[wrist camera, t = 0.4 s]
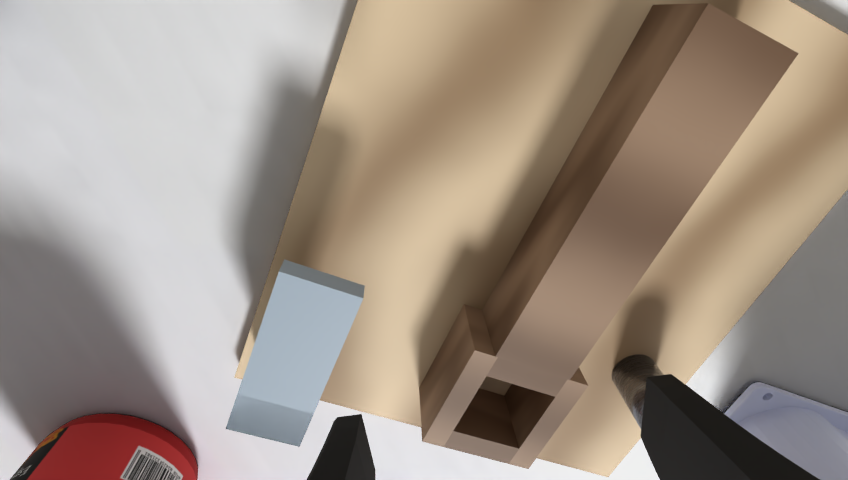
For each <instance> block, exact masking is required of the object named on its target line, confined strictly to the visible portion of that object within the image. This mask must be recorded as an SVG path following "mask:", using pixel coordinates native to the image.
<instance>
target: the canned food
mask: <svg viewBox="0 0 848 480" xmlns="http://www.w3.org/2000/svg"><path fill="white" fill-rule="evenodd" d="M197 478H198V467H197V463H196V459H195V457H194V455H193V454H192V452H191V450H190V449H189V448H188V447H187V446H186V444H185V443H184V442H183V441H182V440H181V439H179V438H178V437H177V436H175V435H174V434H173V433H172V432H170V431H168V430H167V429H165V428H163V427H161V426H160V425H157V424H155V423H152V422H150V421H147V420H144V419H141V418H137V417H133V416H127V415H120V414H95V415H88V416H83V417H80V418H77V419H74V420H72V421H70V422H68V423H66V424H65V425H63V426H61V427H60V428H58V429H57V430H55V431H54V432H53V433H51V434H50V435H48V436H47V437H46V438H45V439H44V440H43V441H42V442H41V443H40V444H39V445H38V446H37V448H36V449H35V450H34V451H33V452H32V454H31V455H30V456H29V457H28V458H27V460H26V461H25V462H24V463H23V464H22V466H21V467H20V468H19V469H18V470H17V472H16V473H15V474H14V475H13V476H12V478H11V479H10V480H197Z"/></svg>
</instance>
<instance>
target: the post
mask: <svg viewBox="0 0 848 480" xmlns="http://www.w3.org/2000/svg"><path fill="white" fill-rule="evenodd" d="M659 375H664V374H663V373H662V371H661V370H660V369H659V367H658V366H657V365H656V363H655V362H654V361H653V359H652V358H650V357H649V356H646V355H641V354H637V355H631V356H628V357H626V358H624V359H622V360H621V361H620V362H618V363H617V364H616V366H615V367H614V369H613V371H612V381H613V382H614V384H615V386H616V388H617V389H618V391H619V393H620V394H621V396H622V398H623V400H624V401H625V403H626V405H627V406H628V408H629V410H630V411H631V413H632V415H633V417H634V418H635V420H636V422H637V423H638V425H639V427H640V429H641V426H642V417H643V407H644V398H645V388H646V378H647V377H651V376H659Z"/></svg>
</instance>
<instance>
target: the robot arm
mask: <svg viewBox="0 0 848 480" xmlns="http://www.w3.org/2000/svg"><path fill="white" fill-rule="evenodd" d="M641 438H642V441H643V443H644V445H645V448H646V450H647V452H648V455H649V457H650V459H651V461H652V463H653V466H654V468H655V470H656V472H657V474H658V477H659V478H660V480H848V412H845V411H842V410H839V409H837V408H834V407H831V406H828V405H825V404H822V403H819V402H816V401H813V400H811V399H808V398H805V397H802V396H799V395H796V394H793V393H790V392H788V391H785V390H782V389H779V388H776V387H773V386H770V385H767V384H765V383H761V382H756V383H753V384H751V385H750V386H749V387H748V388H747V389H746V390H745V391H744V392H743V393H742V394H741V395H740V397H739V398H738V399H737V400H736V401H735V402H734V403H733V404H732V405H731V406H730V408H729V409H728V410H727V411H726V412H725V413H722V412H721V411H720V410H718V409H717V408H716V407H714V406H713V405H712V404H710V403H709V402H708V401H706V400H705V399H704V398H702V397H701V396H700V395H698V394H697V393H696V392H694V391H693V390H692V389H690V388H689V387H688V386H687V385H685V384H684V383H683V382H681V381H680V380H679V379H677V378H676V377H675V376H673V375H672V374H667V375H659V376H651V377H647V378H646V388H645V398H644V407H643V417H642V426H641ZM307 480H375V467H374V463H373V459H372V455H371V451H370V447H369V443H368V439H367V435H366V431H365V427H364V423H363V419H362V415H361V414H359V415H352V416H344V417H337V419H336V420H335V421H334V422H333V425H332V427H331V430H330V432H329V434H328V437H327V439H326V441H325V443H324V446H323V448H322V450H321V452H320V454H319V456H318V458H317V460H316V463H315V465H314V467H313V469H312V471H311V473H310V474H309V476H308V478H307Z"/></svg>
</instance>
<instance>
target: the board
mask: <svg viewBox="0 0 848 480" xmlns="http://www.w3.org/2000/svg"><path fill="white" fill-rule="evenodd" d="M700 3H709V4H711V5H712V6H714V7H716V8H718V9H720V10H721V11H723V12H725V13H727V14H729V15H730V16H732V17H734V18H736V19H738V20H739V21H741V22H743V23H745V24H747V25H748V26H750V27H752V28H754V29H756V30H758V31H759V32H761V33H763V34H765V35H767V36H768V37H770V38H772V39H774V40H776V41H777V42H779V43H781V44H783V45H785V46H786V47H788V48H790V49H792V50H794V51H795V52H797V53H799V54H798V55H797V57H796V58H795V59H794V61H793V62H792V64H791V65H790V67H789V68H788V69H787V71H786V72H785V74H784V75H783V77H782V78H781V79H780V81H779V82H778V84H777V85H776V87H775V88H774V89H773V91H772V92H771V94H770V95H769V97H768V98H767V99H766V101H765V102H764V104H763V105H762V107H761V108H760V109H759V111H758V112H757V114H756V115H755V117H754V118H753V119H752V121H751V122H750V124H749V125H748V126H747V128H746V129H745V131H744V132H743V134H742V135H741V136H740V138H739V139H738V141H737V142H736V144H735V145H734V146H733V148H732V149H731V151H730V152H729V154H728V155H727V156H726V158H725V159H724V161H723V162H722V164H721V165H720V166H719V168H718V169H717V171H716V172H715V174H714V175H713V176H712V178H711V179H710V181H709V182H708V184H707V185H706V186H705V188H704V189H703V191H702V192H701V194H700V195H699V196H698V198H697V199H696V201H695V202H694V204H693V205H692V206H691V208H690V209H689V211H688V212H687V214H686V215H685V216H684V218H683V219H682V221H681V222H680V224H679V225H678V226H677V228H676V229H675V231H674V232H673V234H672V235H671V236H670V238H669V239H668V241H667V242H666V244H665V245H664V246H663V248H662V249H661V251H660V252H659V253H658V255H657V256H656V258H655V259H654V261H653V262H652V263H651V265H650V266H649V268H648V269H647V271H646V272H645V273H644V275H643V276H642V278H641V279H640V281H639V282H638V283H637V285H636V286H635V288H634V289H633V291H632V292H631V293H630V295H629V296H628V298H627V299H626V301H625V302H624V303H623V305H622V306H621V308H620V309H619V311H618V312H617V313H616V315H615V316H614V318H613V319H612V321H611V322H610V323H609V325H608V326H607V328H606V329H605V331H604V332H603V333H602V335H601V336H600V338H599V339H598V341H597V342H596V343H595V345H594V346H593V348H592V349H591V351H590V352H589V353H588V355H587V356H586V358H585V359H584V361H583V362H582V363H581V365H580V366H579V368H580V370H581V372H582V374H583V376H584V378H585V380H586V382H587V384H588V387H587V389H586V390H585V392H584V393H583V394H582V396H581V397H580V398H579V400H578V401H577V403H576V404H575V405H574V407H573V408H572V409H571V411H570V412H569V414H568V415H567V416H566V418H565V419H564V420H563V422H562V423H561V425H560V426H559V427H558V429H557V430H556V431H555V433H554V434H553V436H552V437H551V438H550V440H549V441H548V442H547V444H546V445H545V447H544V448H543V449H542V451H541V452H540V453H539V455H538V456H537V458H538V459H542V460H546V461H550V462H553V463H557V464H561V465H565V466H568V467H572V468H576V469H580V470H583V471H587V472H591V473H595V474H598V475H602V476H606V477H609V475H610V474H611V473H612V472H613V471H614V469H615V468H616V467H617V466H618V465H619V463H620V462H621V461H622V460H623V459H624V457H625V456H626V455H627V454H628V453H629V451H630V450H631V449H632V448H633V447H634V445H635V444H636V443H637V442H638V441H639V439H640V438H641V429H640V427H639V425H638V423H637V422H636V420H635V418H634V417H633V415H632V413H631V411H630V410H629V408H628V406H627V405H626V403H625V401H624V400H623V398H622V396H621V394H620V393H619V391H618V389H617V388H616V386H615V384H614V382H613V381H612V371H613V369H614V367H615V366H616V364H617V363H618V362H620V361H621V360H622V359H624V358H626V357H628V356H631V355H637V354H641V355H646V356H649V357H650V358H652V359H653V361H654V362H655V363H656V365H657V366H658V367H659V369H660V370H661V371H662V373H663V374H664V375H667V374H672V375H673V376H675V377H676V378H677V379H679V380H680V381H681V382H683V383H684V384H686V383H687V382H688V381H689V379H690V378H691V377H692V376H693V375H694V373H695V372H696V371H697V370H698V369H699V367H700V366H701V365H702V364H703V363H704V361H705V360H706V359H707V358H708V357H709V355H710V354H711V353H712V352H713V351H714V349H715V348H716V347H717V346H718V345H719V343H720V342H721V341H722V340H723V339H724V337H725V336H726V335H727V334H728V333H729V331H730V330H731V329H732V328H733V327H734V325H735V324H736V323H737V322H738V321H739V319H740V318H741V317H742V316H743V315H744V313H745V312H746V311H747V310H748V309H749V307H750V306H751V305H752V304H753V302H754V301H755V300H756V299H757V298H758V296H759V295H760V294H761V293H762V292H763V290H764V289H765V288H766V287H767V286H768V284H769V283H770V282H771V281H772V280H773V278H774V277H775V276H776V275H777V274H778V272H779V271H780V270H781V269H782V268H783V266H784V265H785V264H786V263H787V262H788V260H789V259H790V258H791V257H792V256H793V254H794V253H795V252H796V251H797V250H798V248H799V247H800V246H801V245H802V244H803V242H804V241H805V240H806V239H807V238H808V236H809V235H810V234H811V233H812V232H813V230H814V229H815V228H816V227H817V226H818V224H819V223H820V222H821V221H822V220H823V218H824V217H825V216H826V215H827V214H828V212H829V211H830V210H831V209H832V208H833V206H834V205H835V204H836V203H837V202H838V200H839V199H840V198H841V197H842V196H843V194H844V193H845V192H846V191H847V190H848V35H847V34H846V33H844V32H842V31H840V30H839V29H837V28H835V27H834V26H832V25H830V24H828V23H827V22H825V21H823V20H822V19H820V18H818V17H816V16H815V15H813V14H811V13H810V12H808V11H806V10H804V9H803V8H801V7H799V6H798V5H796V4H794V3H792V2H791V1H789V0H358V2H357V5H356V8H355V11H354V14H353V17H352V20H351V23H350V26H349V29H348V32H347V35H346V38H345V41H344V44H343V47H342V50H341V53H340V57H339V60H338V63H337V66H336V69H335V72H334V75H333V78H332V81H331V84H330V87H329V90H328V93H327V96H326V99H325V102H324V105H323V108H322V111H321V115H320V118H319V121H318V124H317V127H316V130H315V133H314V136H313V139H312V142H311V145H310V148H309V151H308V154H307V157H306V160H305V163H304V166H303V170H302V173H301V176H300V179H299V182H298V185H297V188H296V191H295V194H294V197H293V200H292V203H291V206H290V209H289V212H288V215H287V218H286V221H285V225H284V228H283V231H282V234H281V237H280V240H279V243H278V246H277V249H276V252H275V255H274V258H273V261H272V264H271V267H270V270H269V273H268V276H267V280H266V283H265V286H264V289H263V292H262V295H261V298H260V301H259V304H258V307H257V310H256V313H255V316H254V319H253V322H252V325H251V328H250V331H249V335H248V338H247V341H246V344H245V347H244V350H243V353H242V356H241V359H240V362H239V365H238V368H237V371H236V374H235V378H239V379H243V376H244V373H245V370H246V368H247V365H248V362H249V359H250V356H251V353H252V350H253V347H254V344H255V341H256V338H257V335H258V332H259V329H260V326H261V323H262V320H263V317H264V314H265V311H266V308H267V305H268V302H269V299H270V296H271V293H272V290H273V287H274V284H275V281H276V278H277V276H278V273H279V270H280V268H281V266H282V263H283V261H284V259H285V260H288V261H291V262H294V263H297V264H300V265H303V266H306V267H309V268H312V269H315V270H318V271H321V272H324V273H328V274H331V275H334V276H337V277H340V278H343V279H346V280H349V281H352V282H355V283H358V284H361V285H364V286H365V289H364V297H363V301H362V303H361V305H360V307H359V310H358V312H357V314H356V317H355V319H354V321H353V324H352V326H351V328H350V331H349V333H348V335H347V338H346V340H345V342H344V345H343V347H342V349H341V351H340V354H339V356H338V358H337V361H336V363H335V365H334V368H333V370H332V372H331V375H330V377H329V379H328V382H327V384H326V386H325V388H324V391H323V393H322V395H321V398H320V400H321V401H325V402H329V403H332V404H336V405H340V406H343V407H347V408H351V409H355V410H358V411H362V412H366V413H370V414H373V415H377V416H381V417H385V418H388V419H392V420H396V421H400V422H403V423H407V424H411V425H415V426H418V427H421V412H420V396H419V387H420V385H421V383H422V381H423V379H424V378H425V376H426V374H427V372H428V370H429V368H430V366H431V365H432V363H433V361H434V359H435V357H436V355H437V353H438V352H439V350H440V348H441V346H442V344H443V342H444V340H445V339H446V337H447V335H448V333H449V331H450V329H451V327H452V326H453V324H454V322H455V320H456V318H457V316H458V314H459V313H460V311H461V309H462V307H463V305H464V304H465V305H468V306H471V307H474V308H477V309H480V310H482V309H483V307H484V306H485V304H486V302H487V300H488V299H489V297H490V295H491V293H492V291H493V290H494V288H495V286H496V284H497V282H498V281H499V279H500V277H501V275H502V274H503V272H504V270H505V268H506V266H507V265H508V263H509V261H510V259H511V257H512V256H513V254H514V252H515V250H516V249H517V247H518V245H519V243H520V241H521V240H522V238H523V236H524V234H525V232H526V231H527V229H528V227H529V225H530V224H531V222H532V220H533V218H534V216H535V215H536V213H537V211H538V209H539V207H540V206H541V204H542V202H543V200H544V199H545V197H546V195H547V193H548V191H549V190H550V188H551V186H552V184H553V182H554V181H555V179H556V177H557V175H558V173H559V172H560V170H561V168H562V166H563V165H564V163H565V161H566V159H567V157H568V156H569V154H570V152H571V150H572V148H573V147H574V145H575V143H576V141H577V140H578V138H579V136H580V134H581V132H582V131H583V129H584V127H585V125H586V123H587V122H588V120H589V118H590V116H591V115H592V113H593V111H594V109H595V107H596V106H597V104H598V102H599V100H600V98H601V97H602V95H603V93H604V91H605V90H606V88H607V86H608V84H609V82H610V81H611V79H612V77H613V75H614V73H615V72H616V70H617V68H618V66H619V65H620V63H621V61H622V59H623V57H624V56H625V54H626V52H627V50H628V48H629V47H630V45H631V43H632V41H633V40H634V38H635V36H636V34H637V32H638V31H639V29H640V27H641V25H642V23H643V22H644V20H645V18H646V16H647V15H648V13H649V11H650V9H651V7H652V6H653V5H659V4H700ZM510 386H511V383H508V382H504V381H501V380H498V379H494V378H491V377H488V376H486V378H485V379H484V381H483V383H482V384H481V386H480V389H484V390H487V391H490V392H494V393H497V394H501V395H505V394H506V392H507V390H508V389H509V387H510Z"/></svg>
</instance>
